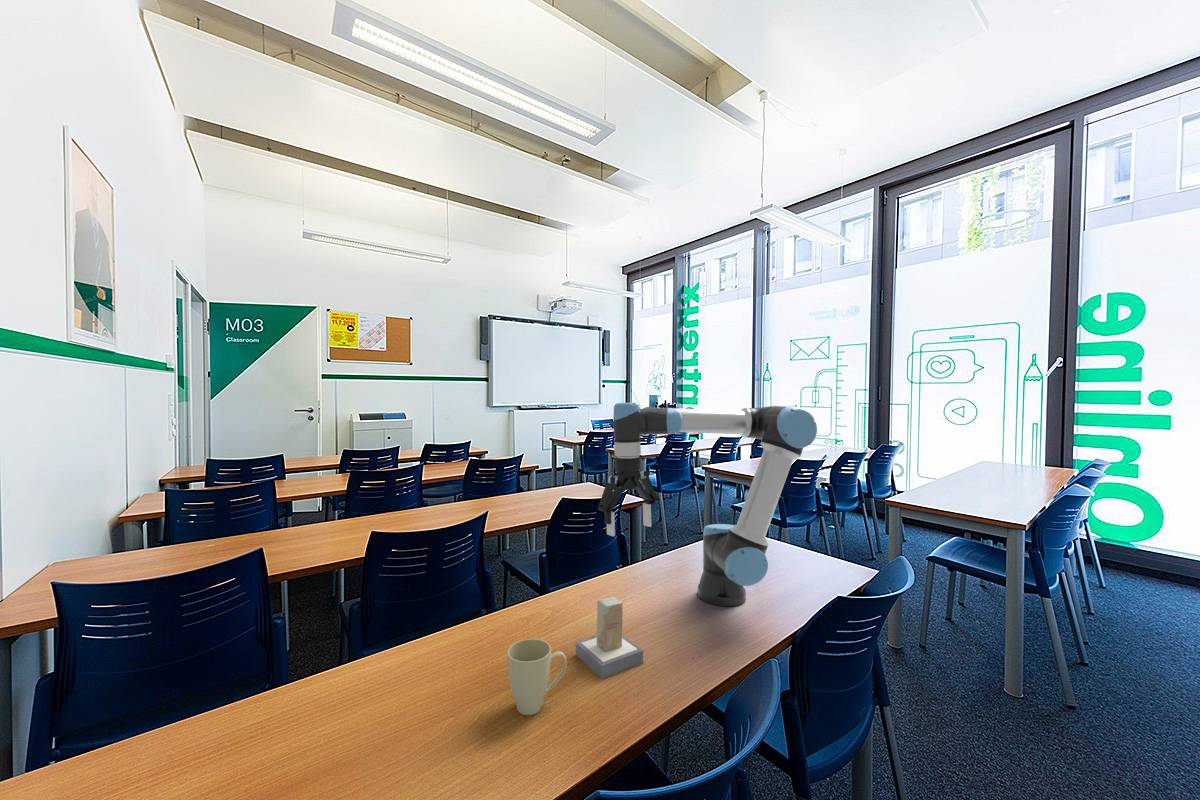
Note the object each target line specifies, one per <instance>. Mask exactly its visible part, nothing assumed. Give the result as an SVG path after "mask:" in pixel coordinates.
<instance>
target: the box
mask: <svg viewBox="0 0 1200 800" xmlns="http://www.w3.org/2000/svg"><path fill="white" fill-rule="evenodd" d="M596 602H597V603H596V605H597V606H596V607H597V610H596V612H597V613H596V614H597V615H596V636H597V645H598V646H599V647H600V648H601V649H602V650H604V651H605V652H606V651H609V650H613V649H616V648H620V647H622V635H623V609H624V607H623V603H624V602H622V601H621V600H620V599H618V598H617V597H616V596H609V597H606V598H601V599H597V601H596Z"/></svg>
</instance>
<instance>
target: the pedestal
mask: <svg viewBox="0 0 1200 800" xmlns="http://www.w3.org/2000/svg"><path fill="white" fill-rule="evenodd" d="M575 655H576V656H577V658H579V659H580V660H581V662H583V663H584V664H585V665H586V666H587V667H588V668H590V669H591V671H593V672H594V673H595V674H596V675H597V676H598V677H599V678H600V679H601V680H603V679H605V678H608V677H610V676H613V675H615V674H618V673H621V672H623V671H626V670H628V669H631V668H633V667H635V666H639V665H641V664H644V650H643V649H642V648H640V647H639V646H638V645H637V644H636V643H634V642H632V641H631V640H629V639H628V638H626V637H625V636H624V635H623V634H622V647H620V648H616V649H613V650H609V651H606V652H605V651H604V650H602V649H601V648H600V647H599V646H598V645H597V635H595V636H592V637H589V638H586V639H583V640H580V641H577V642H575Z"/></svg>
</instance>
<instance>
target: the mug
mask: <svg viewBox="0 0 1200 800" xmlns="http://www.w3.org/2000/svg"><path fill="white" fill-rule="evenodd" d="M506 653H507V654H506V655H507V668H508V681H509V686H510V690H511V694H512V696H513V699H514V702H515V707H516V710H517V712H518V713H520V714H521V715H524V716H532V715H535V714H537V713H538V712H539V711H541V708H542V705H543V702H544V698H545V695H546V694H547V693H549V692H550V691H551V690H552V689H553V688H554V687H555V686H556V685H557V684H558V683H559V681H560V680H561V679H562V678H563V677H564V675H565V673H566V671H567V661H568V660H567V657H566V655H565V653H564V652H563V651H561V650H559V651H554V652H553V653H552V647H551V645H550V644H549V643H548V642H547V641H546V640H542V639H537V638H527V639H522V640H518V641H516V642H515V643H513V644H511V645H510V646H509V647H508V648H507V652H506ZM559 656H561V657H562V659H563V666H562V669H561V671H560V672H559V673H558V675H557V676H556V678H555V679H553V681H552V682H551V683H550V684H549V679H550V673H551V671H550V670H551V663H552V662H553V661H554V660H555V659H556V658H558V657H559Z"/></svg>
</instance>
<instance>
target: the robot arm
mask: <svg viewBox="0 0 1200 800" xmlns="http://www.w3.org/2000/svg"><path fill="white" fill-rule="evenodd" d="M612 421H613V441H614V445H613V446H614V450H613V451H614V456H615V458H614V469H615V473H616V474H615V475H607V476H606V481H605V482H606V483H605V486H604V490H603V491H602V494H601V498H600V501H599V503H598V507H597V510H598V511H601V512H603V513H604V524H605V525H606V535H608V536H611V537H615V536H616V529H615V528H616V527H615V525H616V524H615V523H616V522H615V512H614V511H613V510H614V508H615V507H616V504H617V503H618V502H619V499H620V498H621V496H622V494H623V493H624V492H625V491H628V490H635V491H636V492H637V494H639V496H640V498H642V500H643V501H644V502H643V503H642V518H643V519H642V520H643V521H642V523H643V526H645V527H647V528H651V527H652V515H653V505H655V504H656V501H658V500H659V499H658V498H659V497H658V496H657V493H656V490H655V488H654V486H653V484H652V481H651V479H650V473H649V471H648V470H642V458H641V457H640V456H641V454H642V451H641V450H642V449H641V436H646V435H647V436H648V435H651V436H653V435H656V436H657V435H676V434H679V433H691V434H692V433H694V434H696V433H697V434H699V433H700V434H723V435H725V434H727V435H740V436H741V437H742V438H751V439H756V440H761V441H760V446H761V447H762V449H763V451H762V454H761V457H760V459H759V461H758V465H757V467H756V470H755V473H754V476H753V478H752V481H751V485H750V486H749V487H750V488H749V490H748V492H747V494H746V498H745V501H744V504H743V507H742V509H741V512H740V514H739V517H738V520H737V523H736V524H735V525H734V524H727V523H714V524H708V525H705V526H704V528H703V532H702V533H703V534H702V539H703V540H702V541H703V543H702V547H703V548H702V549H703V550H702V552H703V553H702V557H703V558H702V559H703V564H702V566H703V569H702V574H701V576H700V580H699V583H698V585H697V597H698V598H699V599H700V600H701V601H704V602H706V603H708V604H711V605H715V606H720V607H721V606H722V607H734V606H735V607H736V606H740V605H742V604H744V603H745V602H746V601H747V591H746V589H745V587H750V586H753V585H756V584H758V583H760V582H761V581H763V579H764V578H765V576H766V575H767V573H768V569H769V561H768V559H767V556H766V553H767V550H768V548H769V547H768V546H769V543H768V541H767V539H766V536H767V533H768V531H769V527H770V525H771V521H772V520H773V516H774V514H775V511H776V508H777V507H778V506H777V505H778V503H779V500H780V497H781V494H782V491H783V489H784V485H785V483H786V480H787V477H788V475H789V472H790V470H791V467H792V464H793V462H794V461H795V460H797V459H799V458H801V455H802V452H803V450H804V448H807V447H808V446H810V445H811V444H812V443H814V441H815V440H816V438H817V434H818V425H817V422H816V420H815V418H814V416H813V414H812V413H810V411H808V409H807V410H806V409H805V408H802V407H797V406H794V405H791V406H789V405H788V406H780V405H772V406H771V405H769V406H764V407H743V408H742V409H741V410H729V409H727V410H724V409H703V408H702V409H700V408H699V409H697V408H677V407H675V408H674V407H652V406H645V407H643V408H641V407H640V404H639V402H617V403H615V404H614V405H613V418H612ZM640 480H641V481H640Z"/></svg>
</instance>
